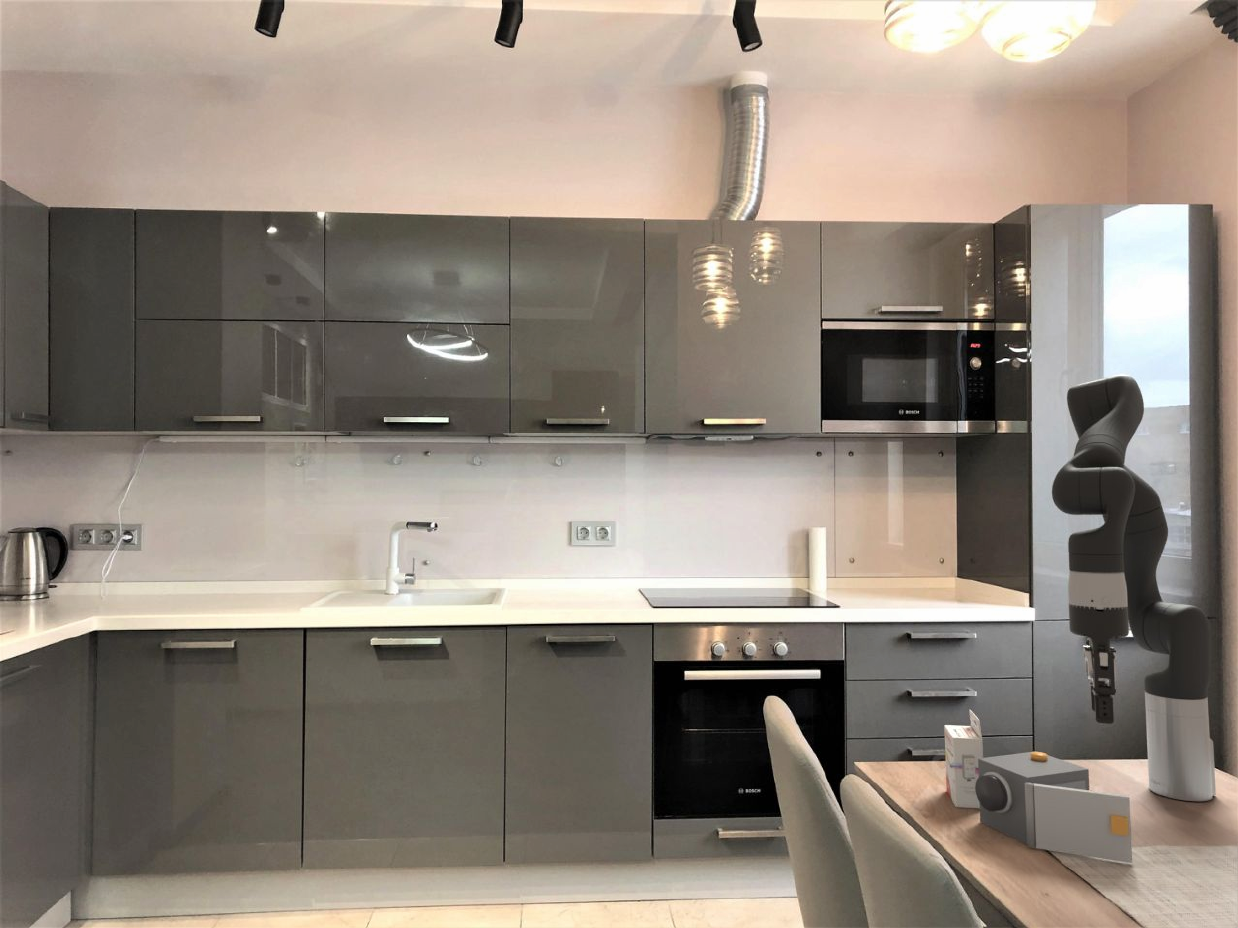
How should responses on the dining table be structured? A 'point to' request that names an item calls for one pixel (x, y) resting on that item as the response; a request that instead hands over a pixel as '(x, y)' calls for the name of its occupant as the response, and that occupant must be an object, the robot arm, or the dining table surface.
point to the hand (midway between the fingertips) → (1102, 716)
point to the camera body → (1020, 787)
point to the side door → (1078, 822)
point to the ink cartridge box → (963, 762)
